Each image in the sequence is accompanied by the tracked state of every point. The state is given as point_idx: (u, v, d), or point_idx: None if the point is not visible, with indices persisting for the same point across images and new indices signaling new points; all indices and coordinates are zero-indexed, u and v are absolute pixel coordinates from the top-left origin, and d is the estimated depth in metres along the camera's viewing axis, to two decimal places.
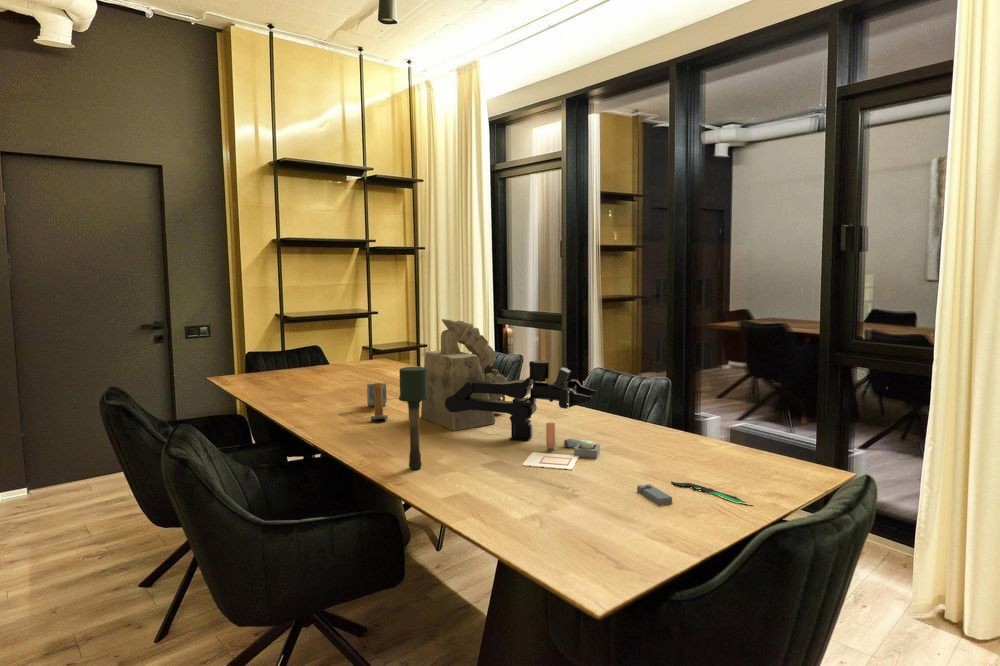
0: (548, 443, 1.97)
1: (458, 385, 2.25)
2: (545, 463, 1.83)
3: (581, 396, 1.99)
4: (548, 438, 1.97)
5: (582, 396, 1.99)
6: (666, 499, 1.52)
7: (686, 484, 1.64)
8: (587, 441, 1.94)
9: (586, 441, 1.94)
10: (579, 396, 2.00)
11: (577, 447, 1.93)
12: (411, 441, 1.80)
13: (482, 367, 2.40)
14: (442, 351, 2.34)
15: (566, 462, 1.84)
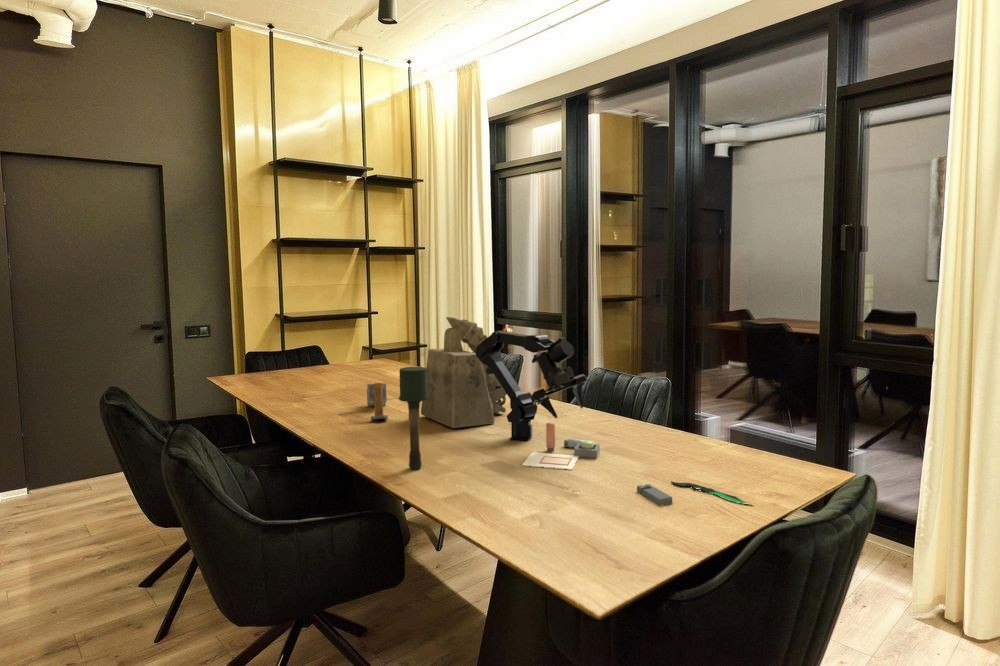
0: (548, 443, 1.97)
1: (459, 382, 2.25)
2: (545, 463, 1.83)
3: (549, 409, 1.96)
4: (548, 438, 1.97)
5: (550, 410, 1.96)
6: (666, 499, 1.52)
7: (686, 484, 1.64)
8: (587, 441, 1.94)
9: (586, 441, 1.94)
10: (548, 407, 1.96)
11: (577, 447, 1.93)
12: (411, 441, 1.80)
13: (484, 367, 2.41)
14: (445, 349, 2.35)
15: (566, 462, 1.84)
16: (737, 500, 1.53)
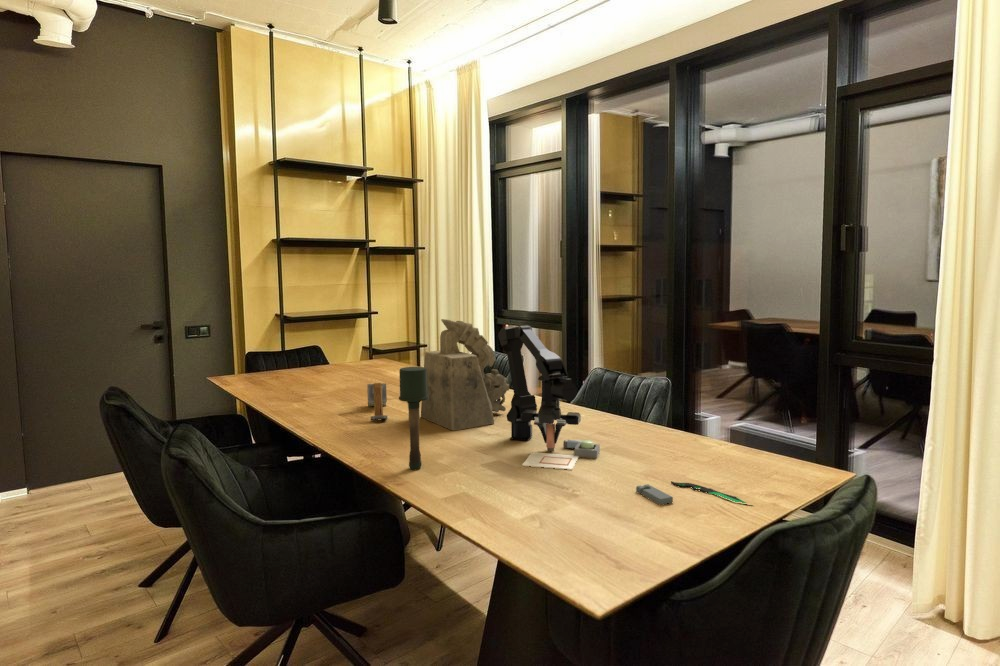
0: (548, 443, 1.97)
1: (457, 385, 2.25)
2: (545, 463, 1.83)
3: None
4: (548, 438, 1.97)
5: None
6: (667, 499, 1.52)
7: (686, 484, 1.64)
8: (587, 441, 1.94)
9: (586, 441, 1.94)
10: None
11: (577, 447, 1.93)
12: (411, 441, 1.80)
13: (482, 367, 2.40)
14: (441, 351, 2.34)
15: (566, 462, 1.84)
16: (737, 500, 1.53)
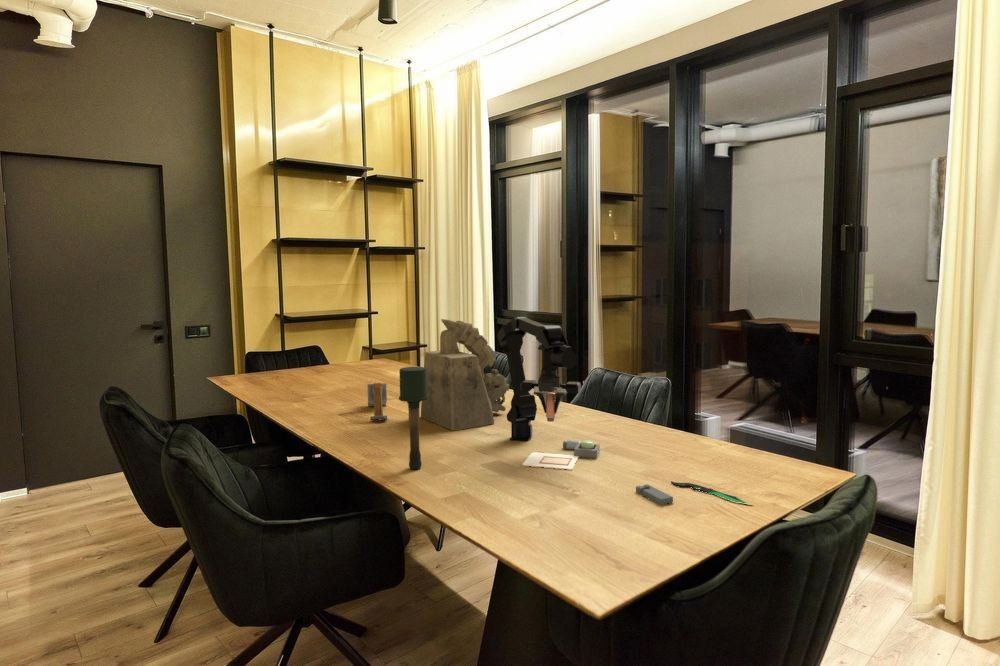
0: (548, 413, 1.95)
1: (457, 385, 2.25)
2: (545, 463, 1.83)
3: None
4: (548, 408, 1.95)
5: None
6: (667, 499, 1.52)
7: (686, 484, 1.64)
8: (587, 441, 1.94)
9: (586, 441, 1.94)
10: None
11: (577, 447, 1.93)
12: (411, 441, 1.80)
13: (482, 367, 2.40)
14: (441, 351, 2.34)
15: (566, 462, 1.84)
16: (737, 500, 1.53)
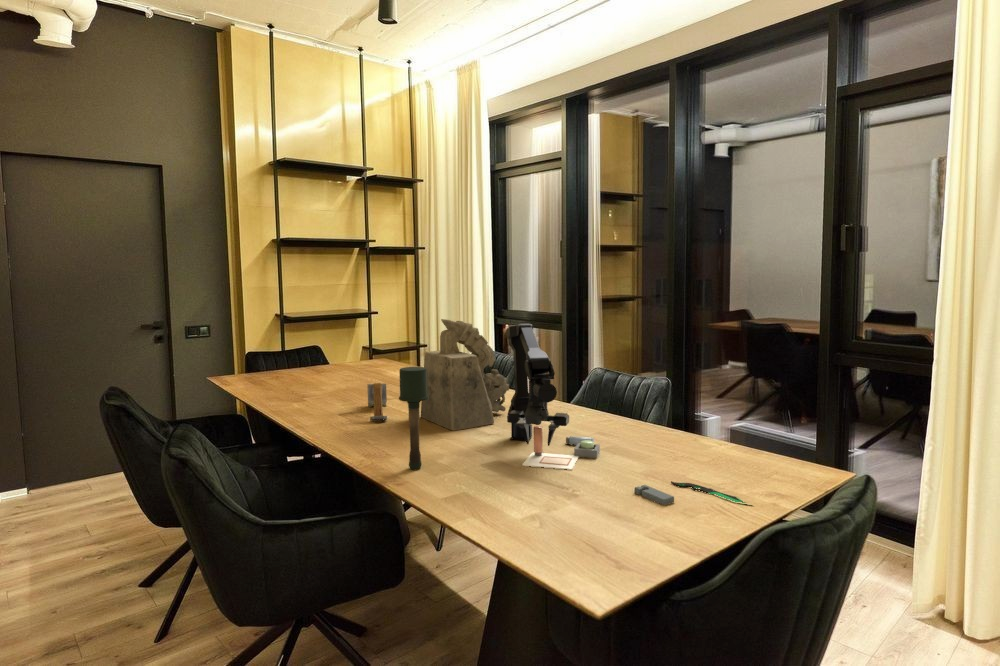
0: (535, 447, 1.91)
1: (457, 385, 2.25)
2: (545, 463, 1.83)
3: None
4: (535, 442, 1.91)
5: None
6: (669, 499, 1.52)
7: (686, 484, 1.64)
8: (587, 441, 1.94)
9: (586, 441, 1.94)
10: None
11: (577, 447, 1.93)
12: (411, 441, 1.80)
13: (481, 367, 2.40)
14: (441, 351, 2.34)
15: (566, 462, 1.84)
16: (737, 500, 1.53)
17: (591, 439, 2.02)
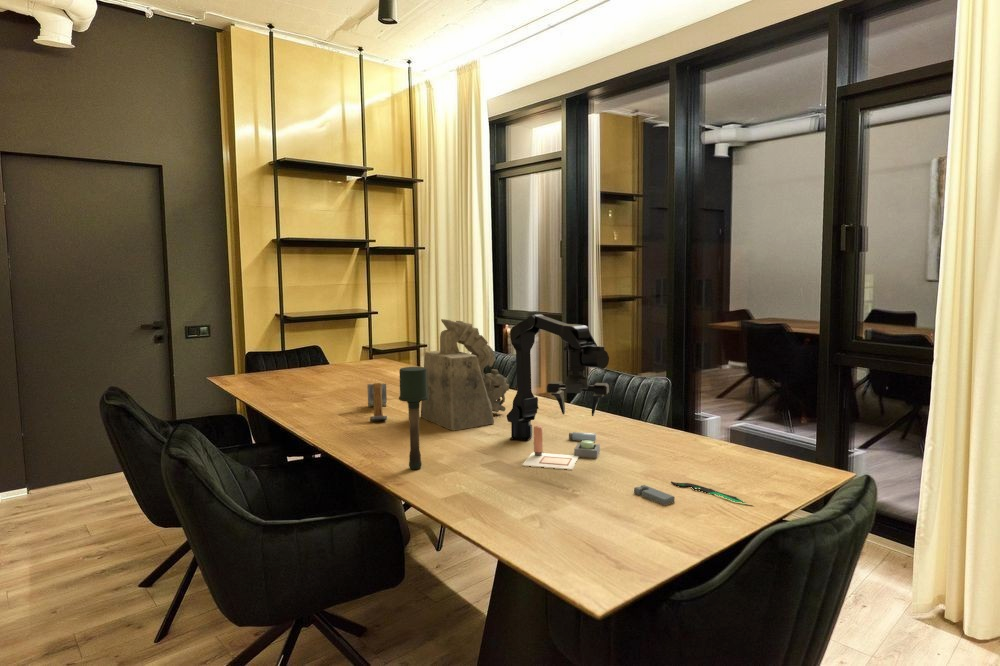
0: (535, 447, 1.91)
1: (457, 385, 2.25)
2: (545, 463, 1.83)
3: None
4: (535, 442, 1.91)
5: None
6: (670, 499, 1.52)
7: (686, 484, 1.64)
8: (587, 441, 1.94)
9: (586, 441, 1.94)
10: None
11: (577, 447, 1.93)
12: (411, 441, 1.80)
13: (481, 367, 2.40)
14: (441, 351, 2.34)
15: (566, 462, 1.84)
16: (737, 500, 1.53)
17: None
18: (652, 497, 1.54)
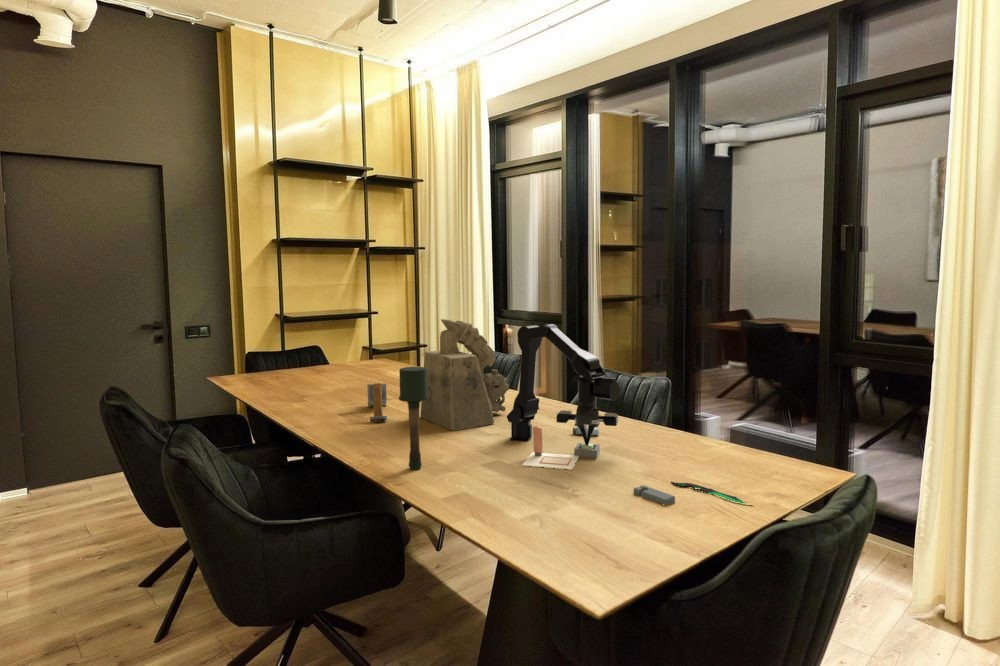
0: (535, 447, 1.91)
1: (457, 385, 2.25)
2: (545, 463, 1.83)
3: None
4: (535, 442, 1.91)
5: None
6: (670, 499, 1.52)
7: (686, 484, 1.64)
8: None
9: None
10: None
11: (577, 447, 1.93)
12: (411, 441, 1.80)
13: (481, 367, 2.40)
14: (441, 351, 2.34)
15: (566, 462, 1.84)
16: (737, 500, 1.53)
17: None
18: (652, 497, 1.54)
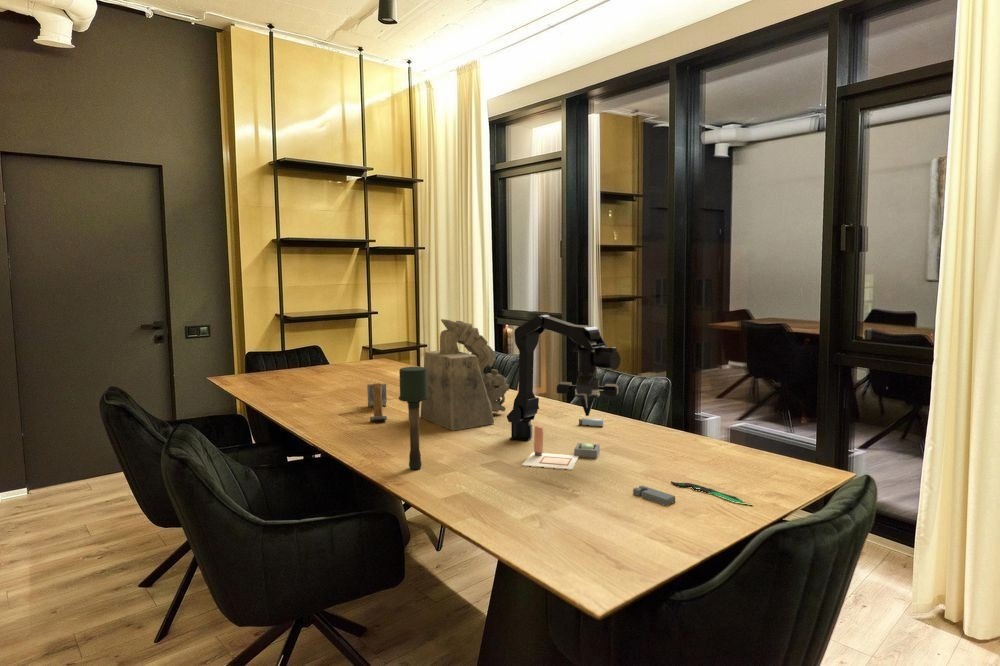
0: (535, 447, 1.91)
1: (457, 385, 2.25)
2: (545, 463, 1.83)
3: None
4: (536, 442, 1.91)
5: None
6: (671, 499, 1.52)
7: (686, 484, 1.64)
8: (587, 444, 1.94)
9: (586, 444, 1.94)
10: None
11: (577, 447, 1.93)
12: (411, 441, 1.80)
13: (481, 367, 2.40)
14: (441, 351, 2.34)
15: (566, 462, 1.84)
16: (737, 500, 1.53)
17: None
18: (653, 497, 1.54)
